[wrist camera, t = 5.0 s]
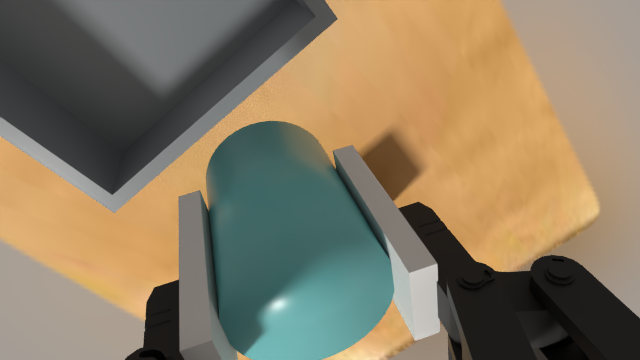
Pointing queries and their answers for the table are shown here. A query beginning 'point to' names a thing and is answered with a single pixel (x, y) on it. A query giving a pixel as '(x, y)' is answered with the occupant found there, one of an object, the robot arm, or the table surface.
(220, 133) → the table surface
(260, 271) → the teal cylinder
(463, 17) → the table surface
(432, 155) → the table surface
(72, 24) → the tote
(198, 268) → the robot arm
